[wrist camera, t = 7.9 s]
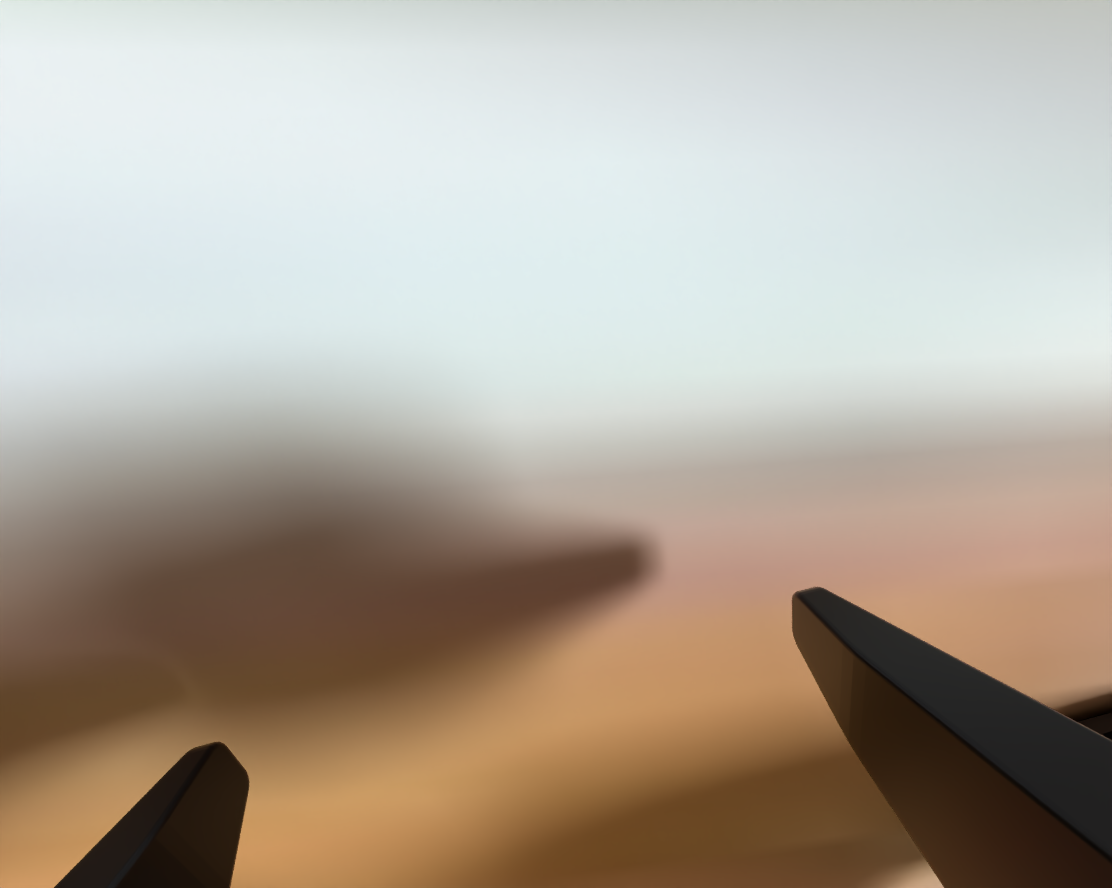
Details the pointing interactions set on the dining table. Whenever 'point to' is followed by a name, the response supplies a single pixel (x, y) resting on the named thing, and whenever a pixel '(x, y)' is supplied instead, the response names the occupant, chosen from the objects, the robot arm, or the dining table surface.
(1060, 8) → the dining table surface
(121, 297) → the dining table surface
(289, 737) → the dining table surface
